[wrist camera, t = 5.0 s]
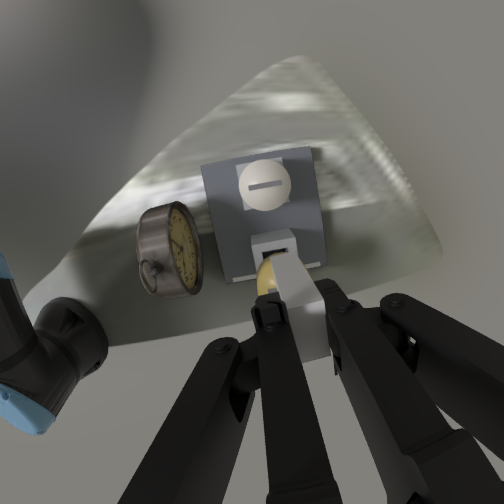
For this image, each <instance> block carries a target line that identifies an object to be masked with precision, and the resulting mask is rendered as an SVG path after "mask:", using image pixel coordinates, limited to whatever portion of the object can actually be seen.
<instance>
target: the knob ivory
mask: <svg viewBox="0 0 504 504" xmlns="http://www.w3.org/2000/svg"><path fill="white" fill-rule="evenodd" d="M290 190H291V180H290V176H289V174H288V172H287V171H286V169H285V168H284V167H283V166H282V165H281V164H279V163H277V162H275V161H273V160H268V159H262V160H257V161H254V162H252V163H251V164H249V165H248V166H247V167H246V168H245V169H244V170H243V172H242V174H241V176H240V179H239V191H240V194H241V197H242V198H243V200H244V201H245V202H246V203H247V204H248V205H249V206H250V207H252V208H254V209H256V210H260V211H270V210H274V209H276V208H278V207H280V206H281V205H282V204H283V203H284V202H285V201H286V200H287V198H288V196H289V194H290Z"/></svg>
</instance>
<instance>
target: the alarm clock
mask: <svg viewBox="0 0 504 504" xmlns="http://www.w3.org/2000/svg"><path fill="white" fill-rule="evenodd" d="M136 252H137V258H138V263H139V275H140V279H141V282H142V284H143V286H144V288H145V290H146V291H147V293H149V294H150V295H155V294H157V295H158V296H160V297H162V298H165V299H171V298H178V297H184V296H190V295H196V294H197V293H198V292H199V291H200V289H201V287H202V282H203V258H202V250H201V245H200V240H199V236H198V233H197V229H196V226H195V223H194V221H193V219H192V216H191V214H190V213H189V211H188V209H187V208H186V206H185V205H184V204H182V203H181V202H179V201H175V202H173V203H169V204H165V205H161V206H158V207H154V208H150V209H148V210H147V211H145V212H144V213H143V215H142V216H141V218H140V220H139V223H138V226H137V231H136ZM143 277H144V278H143ZM144 279H145V281H146V282H147V284H148V286H149V287H150V288H151V290H152V291H153V292H151V291H150V290H149V289H148V287H147V285H146V283H145V281H144Z"/></svg>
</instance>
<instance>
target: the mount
mask: <svg viewBox="0 0 504 504" xmlns="http://www.w3.org/2000/svg"><path fill="white" fill-rule="evenodd" d="M262 159H268V160H273V161H275V162H277V163H279V164H281V165H282V166H283V167H284V168H285V169H286V171H287V172H288V174H289V176H290V180H291V190H290V194H289V196H288V198H287V200H286V201H285V202H284V203H283V204H282V205H281V206H280V207H278V208H276V209H274V210H270V211H260V210H256V209H254V208H252V207H250V206H249V205H248V204H247V203H246V202H245V201H244V200H243V198H242V197H241V194H240V191H239V179H240V176H241V174H242V172H243V170H244V169H245V168H246V167H247V166H248V165H249V164H251V163H252V162H254V161H257V160H262ZM200 167H201V172H202V177H203V182H204V186H205V191H206V196H207V201H208V205H209V210H210V215H211V219H212V224H213V228H214V233H215V237H216V242H217V246H218V250H219V255H220V259H221V263H222V268H223V272H224V276H225V280H226V284H230V283H235V282H241V281H246V280H252V279H257V278H256V277H257V270H258V268H259V266H260V264H261V263H262V261H263V260H264V259H265V258H267V257H268V256H270V255H271V254H273V253H280V252H286V253H289V252H293V251H295V253H296V254H297V256H298V258H299V259H300V260H301V261H302V262H303V264H304V265H305V267H306V269H310V268H315V267H320V266H325V265H327V256H326V247H325V239H324V231H323V223H322V216H321V209H320V202H319V195H318V189H317V182H316V176H315V170H314V164H313V159H312V153H311V148H310V146H307V147H300V148H293V149H286V150H279V151H273V152H267V153H261V154H256V155H250V156H245V157H240V158H235V159H230V160H225V161H220V162H215V163H211V164H206V165H202V166H200Z"/></svg>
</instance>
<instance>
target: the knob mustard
mask: <svg viewBox="0 0 504 504" xmlns="http://www.w3.org/2000/svg"><path fill="white" fill-rule="evenodd" d="M284 253H286V252H280V253H273V254H271V255H270V256H268V257H267V258H265V259H264V260H263V261H262V263H261V264H260V266H259V268H258V270H257V277H256V278H257V289H258V295H259V296H260V295H264V294H269V293H273V292H277V288H276V283H275V279H274V274H273V270H272V265H271V261H270V257H272V256H276V255H280V254H284ZM300 261H301V260H300ZM301 262H302V261H301ZM302 264H303V262H302ZM303 266H304V267H305V265H304V264H303ZM305 269H306V267H305ZM306 271H307V269H306ZM307 272H308V271H307ZM308 274H309V272H308ZM309 276H310V274H309ZM310 277H311V276H310ZM311 279H312V278H311Z"/></svg>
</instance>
